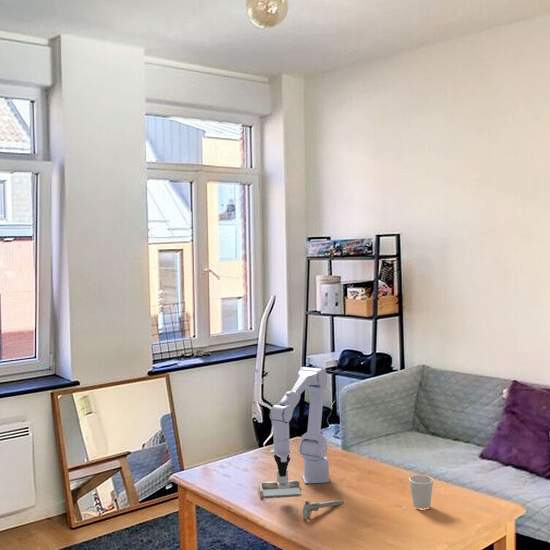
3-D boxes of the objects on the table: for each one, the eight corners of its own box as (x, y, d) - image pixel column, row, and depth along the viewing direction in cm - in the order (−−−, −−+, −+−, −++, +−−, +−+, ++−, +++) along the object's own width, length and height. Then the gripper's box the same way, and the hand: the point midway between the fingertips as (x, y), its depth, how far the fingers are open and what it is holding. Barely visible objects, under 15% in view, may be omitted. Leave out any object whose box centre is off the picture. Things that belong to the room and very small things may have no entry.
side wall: (261, 489, 250) (261, 483, 250) (263, 497, 242) (262, 490, 242) (258, 489, 250) (258, 483, 250) (260, 497, 242) (260, 491, 242)
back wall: (299, 486, 252) (299, 480, 252) (299, 487, 251) (299, 480, 251) (259, 488, 251) (259, 482, 251) (260, 489, 250) (260, 483, 250)
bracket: (276, 482, 240) (276, 470, 240) (287, 481, 241) (287, 469, 240) (278, 488, 234) (278, 476, 234) (289, 487, 235) (289, 475, 235)
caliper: (305, 521, 222) (304, 502, 221) (302, 520, 222) (302, 501, 222) (343, 503, 236) (343, 485, 236) (341, 502, 237) (341, 485, 236)
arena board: (298, 487, 251) (298, 486, 251) (301, 495, 243) (301, 493, 243) (261, 489, 250) (261, 488, 250) (263, 497, 242) (263, 496, 242)
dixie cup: (437, 505, 232) (436, 477, 231) (429, 513, 224) (429, 484, 224) (413, 500, 236) (413, 473, 235) (406, 509, 229) (405, 480, 228)
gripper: (268, 433, 246) (269, 469, 247) (272, 445, 232) (273, 483, 232) (287, 432, 247) (288, 468, 247) (292, 443, 232) (293, 482, 233)
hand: (282, 475), depth 240 cm, fingers closed on bracket
